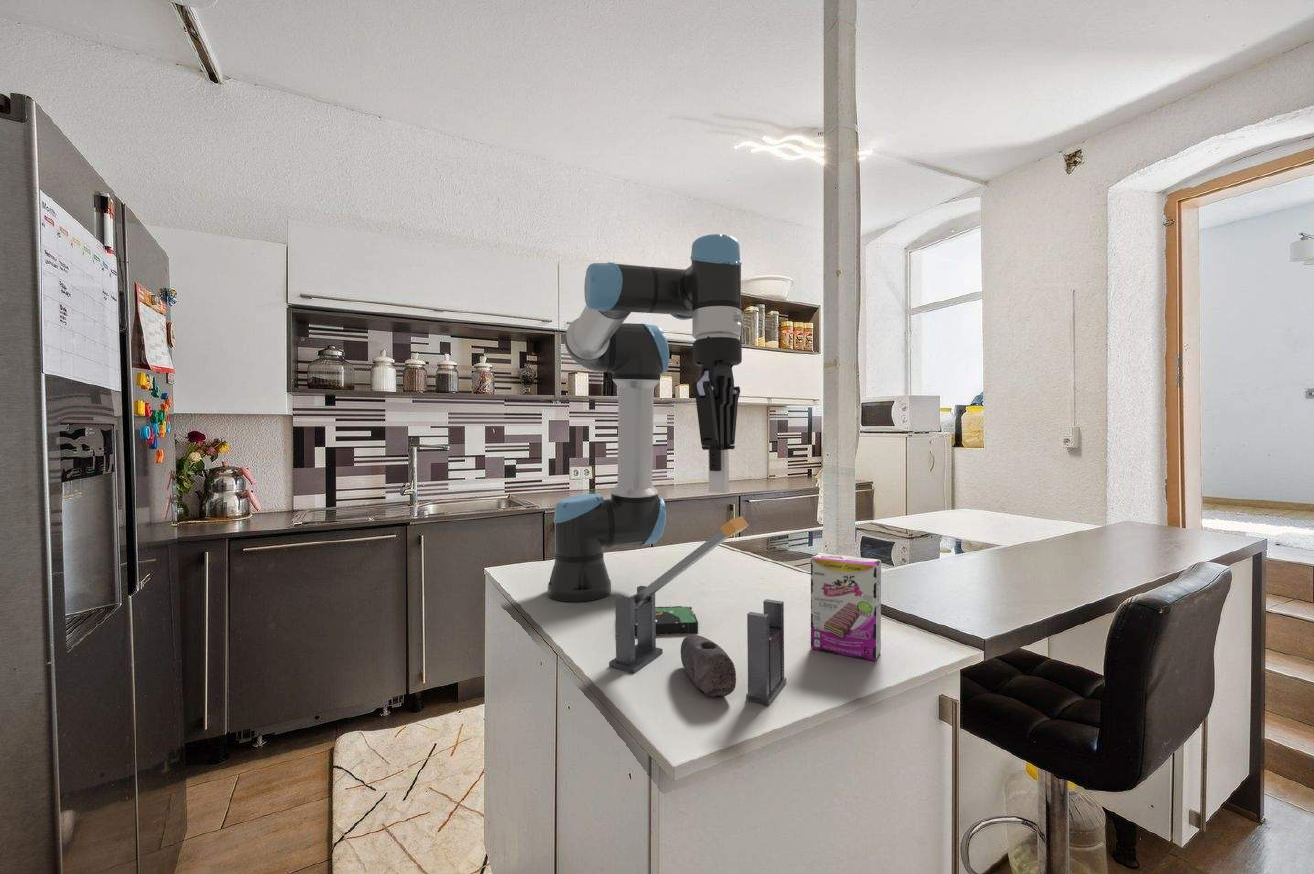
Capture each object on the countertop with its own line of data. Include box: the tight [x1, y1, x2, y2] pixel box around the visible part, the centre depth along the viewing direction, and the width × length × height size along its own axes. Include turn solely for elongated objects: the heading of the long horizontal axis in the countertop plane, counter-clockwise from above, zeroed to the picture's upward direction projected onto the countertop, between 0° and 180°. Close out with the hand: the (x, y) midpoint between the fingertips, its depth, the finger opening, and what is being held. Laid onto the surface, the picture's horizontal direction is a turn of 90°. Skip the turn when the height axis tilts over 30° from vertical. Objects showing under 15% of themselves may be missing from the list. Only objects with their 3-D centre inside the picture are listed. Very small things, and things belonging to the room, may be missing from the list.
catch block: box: [745, 598, 787, 707], centre depth 81 cm, size 8×3×12 cm, turn 149°
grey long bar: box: [630, 515, 749, 609], centre depth 88 cm, size 5×25×2 cm
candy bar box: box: [810, 552, 882, 662], centre depth 96 cm, size 11×5×16 cm, turn 59°
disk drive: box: [635, 605, 699, 637], centre depth 110 cm, size 10×3×15 cm
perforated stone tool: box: [680, 633, 737, 698], centre depth 85 cm, size 15×5×7 cm, turn 17°
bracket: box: [608, 585, 664, 674], centre depth 93 cm, size 9×5×12 cm, turn 149°
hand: (719, 491), depth 85 cm, fingers closed
